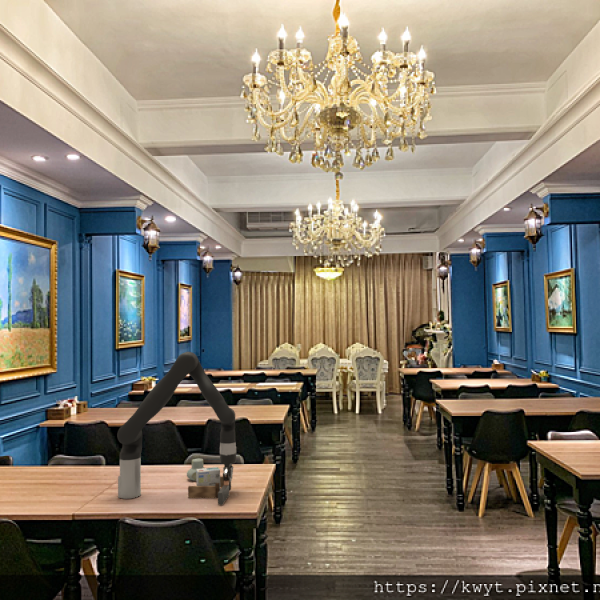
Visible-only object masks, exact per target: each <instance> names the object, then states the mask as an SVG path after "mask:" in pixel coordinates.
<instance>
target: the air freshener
mask: <svg viewBox="0 0 600 600" xmlns="http://www.w3.org/2000/svg"><path fill="white" fill-rule="evenodd" d="M202 468H205V467H204V459H203V458H193V459H191V468H189V469H188V470H187V472H186V477H187V479H188V480H190V481H193V482H196V469H202Z"/></svg>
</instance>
